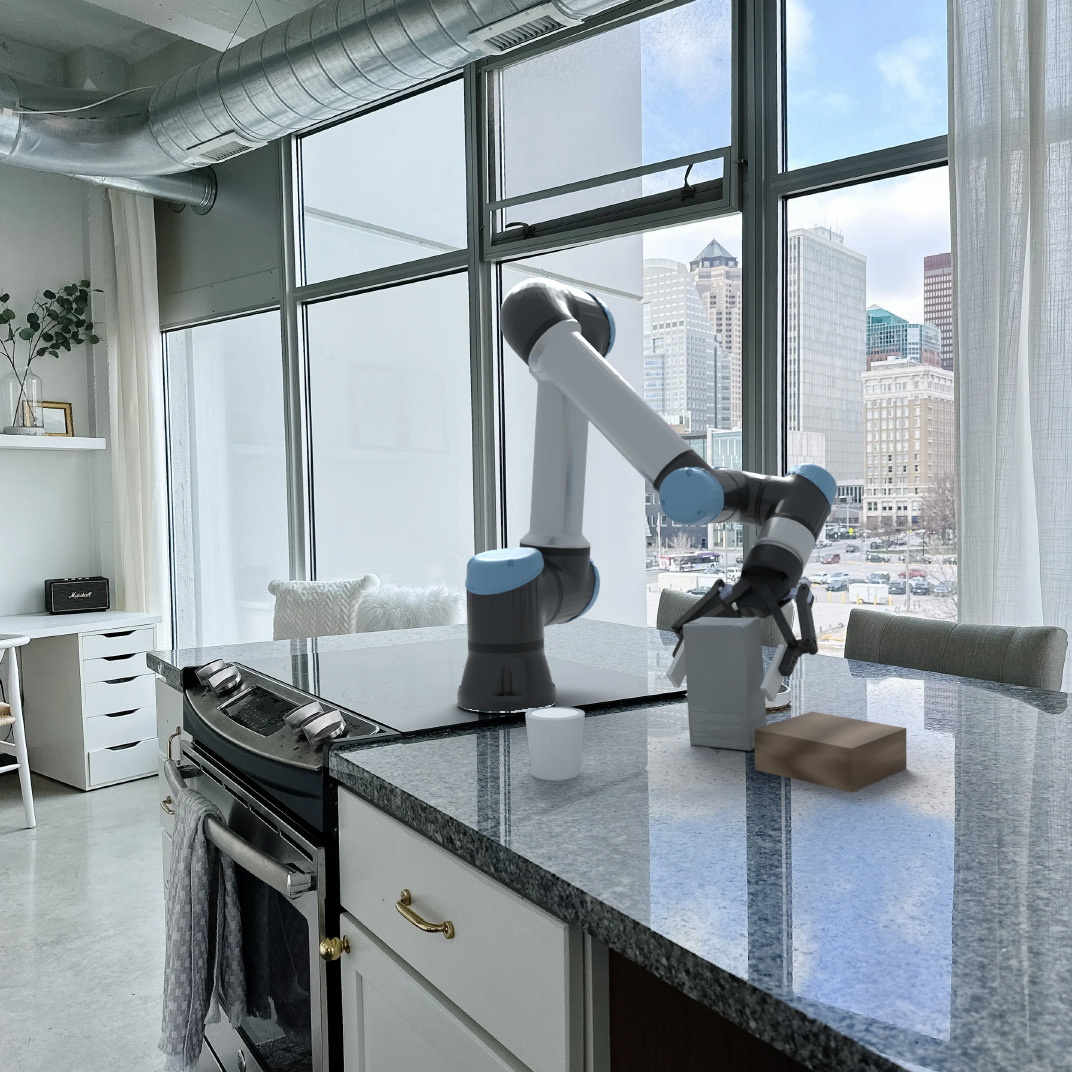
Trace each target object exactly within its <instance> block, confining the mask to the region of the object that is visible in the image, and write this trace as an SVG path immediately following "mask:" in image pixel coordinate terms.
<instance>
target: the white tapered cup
mask: <svg viewBox="0 0 1072 1072" xmlns="http://www.w3.org/2000/svg"><path fill="white" fill-rule="evenodd" d="M524 714H525V715H524V716H525V726H526V734H527V744H528V752H529V761H530V768H531V769H530V771H531V775H532V776H533V777H534V778H536V779H539V780H546V781H565V779H566V780H571V779H570V778H572V779H574V778H573V777H575V778H577V777H579V776H580V775H581V770H582V759H583V742H584V730H585V729H584V728H585V718H586V717H585V715H586V713H585V711H584V710H582V709H579V708H575V707H569V706H552V707H543V708H536V709H532V710H529V711H527V712H526V713H524ZM579 774H580V775H579ZM578 775H579V776H578Z"/></svg>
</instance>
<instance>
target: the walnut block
mask: <svg viewBox="0 0 1072 1072" xmlns="http://www.w3.org/2000/svg"><path fill="white" fill-rule="evenodd" d="M754 770H755V771H759V772H762V773H768V774H771V775H776V776H778V777H779V776H780V777H783V778H789V779H792V780H796V781H801V782H804V783H809V784H812V785H813V784H814V785H817V786H822V787H826V788H831V789H835V790H839V791H843V792H848V793H855V792H857V791H859V790H860V789H864V788H866V787H868V786H870V785H873V784H875V783H878V782H879V781H880V782H881V781H882V780H884V779H886V778H889V777H891V776H893V775H896V774H898V773H900V772H903V771H905V770H907V727H901V726H897V725H889V724H885V723H879V722H873V721H869V720H861V719H857V718H851V717H845V716H840V715H833V714H829V713H828V714H827V713H824V712H823V713H822V712H817V711H809V712H806V713H802V714H800V715H797V716H793V717H789V718H787V719H783V720H781V721H776V722H773V723H770V724H767V725H766V726H763V727H760V728H757V729H755V748H754Z"/></svg>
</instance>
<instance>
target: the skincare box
mask: <svg viewBox="0 0 1072 1072" xmlns="http://www.w3.org/2000/svg"><path fill="white" fill-rule="evenodd" d="M761 626H762V625H761V618H759V617H741V618H716V617H701V618H699V619H696V620H694V621H691V622H689V623H686V624H684V625H683V635H684V650H685V664H686V675H685V681H686V682H685V683H686V695H687V696H686V697H687V698H686V699H687V711H688V712H687V713H688V731H689V744H690V746H696V747H697V746H699V747H709V748H719V749H727V750H728V749H729V750H739V751H747V752H748V751H750V752H751V751H752V750H755V729H757V728H760V727H763V726H766V725H768V723H767V707H766V697H765V695H764V693H763V692H762V690H761V689H760V687H761V685H762V682H763V680H764V678H765V675H764V673H765V672H764V658H763V646H762V630H761V629H762V627H761Z"/></svg>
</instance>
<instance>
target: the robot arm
mask: <svg viewBox="0 0 1072 1072" xmlns="http://www.w3.org/2000/svg"><path fill="white" fill-rule="evenodd" d="M499 325H500V329H501V333H502V335H503V337H504V340H505V341H506V343H507V344H508V346H509V347H510V348H511V349H512V350H513V352H514V353H515V354H516V355H517V356H518V357H519V358H520V359H521V360H522V361H523V362H524V363H525V364H526V365H527V366H528V372H529V374H530V375H531V376H532V377H533V379H535V381H536V383H537V391H536V408H535V409H536V411H535V427H534V428H535V429H534V445H533V446H534V447H533V448H534V449H533V464H532V480H531V497H530V514H529V515H530V516H529V517H530V518H529V520H530V521H529V531H528V532H527V533H525V534H524V535H523V536H522V537H521V539H519V547H505V548H500V549H491V550H487V551H483V552H480V553H477V554H475V555H473V556H471V558H470V559H469V560H468V561H467V565H466V578H465V581H464V586H465V588H466V589H465V590H466V618H467V621H466V623H467V624H466V625H467V626H466V627H467V657H466V662H465V666H464V669H463V674H462V678H461V682H460V684H459V686H458V688H457V692H456V693H457V696H456V697H457V706H458V705H459V706H461V707H463V708H466V709H472V710H480V711H515V710H522V709H528V708H539V707H545V706H548V705H552V704H554V703H555V702H556V701H558V698H557V697H558V695H557V694H558V692H557V691H558V690H557V686H556V684H555V682H553V679H552V675H551V674H552V673H551V670H550V666H549V663H548V660H547V656H546V654H545V628H546V627H550V626H554V625H562V624H567V623H570V622H572V621H574V620H576V619H578V618H581V617H582V616H584V615H586V614H587V613H588V612H589V611H590V610H591V609H592V607H593V606H594V605H595V603H596V601H597V599H598V597H599V594H600V590H601V589H600V588H601V578H600V573H599V568H598V567H597V566H596V565H595V563H594V561H593V559H592V558H591V542H590V541H589V540H588V538H586V537H585V536H584V535H583V524H584V523H583V520H584V507H585V505H584V503H585V491H586V490H585V488H586V487H585V486H586V471H587V457H588V439H589V438H588V437H589V422H590V424H592V425H593V426H594V427H595V428H596V429H597V430H598V431H599V433H601V434H602V435H603V437H604V438H605V439H606V440H607V441H608V442H609V443H610V444H611V445H612V446H613V448H615V449H616V450H617V451H618V452H619V454H620V455H621V456H623V457H622V458H624V459H625V460H626V461H627V462H628V463H629V464H630V465H631V466H632V468H634V469H635V470H636V471H637V473H638V474H640V476H641V477H642V478H643V479H644V480H645V481H646V482H647V483H648V485H650V486H651V487H652V488H653V489H654V491H655V492H656V493H658V500H659V504H660V508H661V510H662V512H663V513H664V515H665V516H666V517H667V518H668V519H669V520H671V521H672V522H674V523H677V524H679V525H685V526H688V527H689V526H691V527H692V526H694V527H698V526H699V527H700V526H706V525H709V524H710V525H711V524H721V523H722V524H723V523H735V524H736V523H737V524H741V525H742V524H743V525H748V526H755V527H760V529H759V531H758V534H756V537H755V539H754V541H753V543H752V546H751V548H750V550H749V552H748V554H747V556H746V558H745V561H743V565H742V566H741V571H740V577H739V579H738V580H737V581H736V582H735V583H734V584H730V583H726V582H725V581H724V579H722V578H717V579H716V580H715V582H714V583H713V585H712V586H711V587H710V590H709V591H708V592H706V593H705V594H704V595H703V596H702V597H701V598H700V599H698V601H696V603H694V604H693V605H692V606H691V607H689V609H688V610H687V611H685V613H684V614H683V615H682V616H680V617H679V618H678V619H677V620H676V621H675V622H674V623H673V624H672V625H671V630H672V632H673V633H674V634H675V636H676V637H677V639H678V641H677V643H676V645H675V647H674V649H673V650H672V655H671V656H672V657H671V658H673V660H672V661H671V663H670V666H669V668H668V670H667V672H666V673H665V676H666V678H667V679H668V680H669V681H670V683H671V684H672V686H673V687H674V688H678V689H680V688H681V686H682V683H683V682H684V680H685V678H686V664H685V650H684V635H683V625H684V624H686V623H689V622H691V621H694V620H696V619H699V618H701V617H716V618H760V619H765V620H766V619H767V618H768V617H771V616H772V617H773V619H774V621H775V624H776V625H777V627H778V630H779V631H780V633H781V636H782V637H783V640H784V642H785V644H786V645H785V644H778V646H777V648H776V651H775V653H774V655H773V658H772V660H771V662H770V664H769V667H768V668H767V671H766V674H765V675H764V680H763V682H762V685H761V687H760V689H761V690H762V692H763V693H764V695H765V699H767V701H768V702H773V703H775V700H776V698H777V696H778V693H779V691H780V689H781V686H782V684H783V682H784V679H785V677H787V678H788V677H790V676H791V675H792V674H793V672H794V670H795V667H796V665H797V663H798V661H799V659H800V658H801V657H802V656H803V655H807V654H809V655H810V656H814V655H817V654H818V652H819V648H818V647H819V646H818V641H817V636H816V635H817V633H816V628H815V622H814V617H813V611H812V610H813V609H812V608H813V605H814V603H815V595H814V594H813V592H812V589H811V588H810V587H809V585H808V584H807V583H806V582H803V583H800V580H801V578H802V576H803V573H804V569H806V566H807V564H808V561H809V559H810V557H811V555H812V552H813V550H814V548H815V546H816V543H817V541H818V538H819V537H820V534H821V532H822V530H823V528H824V526H825V523H826V522H827V520H828V517H829V516H830V515H831V513H832V508H833V504H834V502H835V499H836V496H837V494H838V485H837V482H836V479H835V478H834V477H833V475H832V474H831V473H830V472H829V471H828V470H826V469H825V468H823V467H822V466H820V465H817V464H814V463H807V462H805V463H804V462H803V463H802V464H795V465H794V466H792V467H790V469H788V471H787V473H786V474H784V476H779V475H770V474H769V475H768V474H762V473H755V472H751V471H745V470H739V469H734V468H729V467H726V466H712V465H711V466H710V465H709V464H708V462H706V461H705V460H704V458H702V457H701V456H700V455H699V454H698V453H697V452H696V451H695V449H693V447H692V446H691V445H690V444H689V443H688V442H687V441H686V440H685V439H684V438H683V437H682V436H681V435H680V434H679V433H678V432H677V431H676V430H675V429H674V428H673V427H672V426H671V425H670V424H669V423H668V421H666V420H665V419H664V418H663V417H662V416H661V415H660V414H659V413H658V412H657V411H656V410H655V409H654V408H653V406H652V405H650V404H649V403H648V402H647V401H646V400H645V399H644V397H642V395H641V394H639V392H637V390H635V388H633V386H631V384H630V383H629V382H628V381H627V380H626V379H625V378H624V377H623V376H622V375H621V374H620V373H619V372H618V371H617V370H616V369H615V368H614V367H613V366H612V365H611V364H610V363H609V362H608V361H607V360H606V357H607V356H608V354H610V353H611V351H612V349H613V347H614V344H615V341H616V332H617V331H616V322H615V318H614V316H613V313H612V312H611V310H610V308H609V307H608V306H607V305H606V303H605V302H604V301H603V300H601V299H600V298H598V297H597V296H595V295H594V294H593V293H591V292H588V291H587V290H584V289H578V288H576V287H572V286H569V285H565V284H562V283H560V282H557V281H555V280H551V279H549V278H545V277H535V278H534V277H533V278H528V279H526V280H524V281H521V282H520V283H518V284H517V285H515V286H513V287H512V289H510V291H509V292H508V293H507V294H506V296H505V297H504V299H503V302H502V304H501V307H500V312H499ZM799 583H800V584H799ZM798 585H799V586H798ZM792 600H793V602H794V603H795V605H796V610H797V611H796V612H797V618H798V624H799V630H800V631H799V632H800V638H799V639H797V638H796V636H795V634H794V632H793V630H792V628H791V627H790V624H789V622H788V620H787V618H786V616H785V614H784V612H783V610H782V608H783V607H785V606H787V605H788V604H789V603H791V602H792ZM733 604H735V606H736V608H737V609H736V610H735V609H734V607H733ZM459 706H458V707H459Z"/></svg>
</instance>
